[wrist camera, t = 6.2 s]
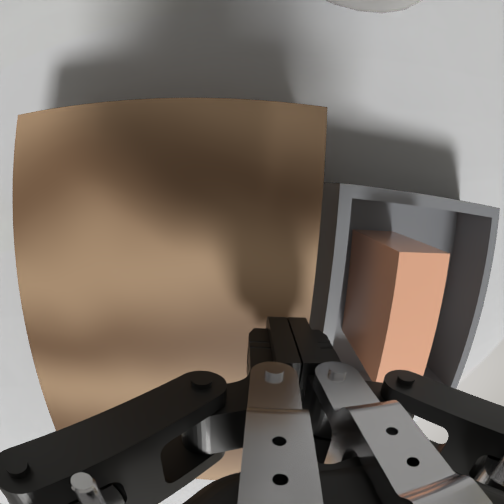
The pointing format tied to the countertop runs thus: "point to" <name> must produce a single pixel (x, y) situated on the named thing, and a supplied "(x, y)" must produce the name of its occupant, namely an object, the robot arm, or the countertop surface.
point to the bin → (423, 230)
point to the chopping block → (161, 241)
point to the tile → (393, 301)
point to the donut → (376, 5)
